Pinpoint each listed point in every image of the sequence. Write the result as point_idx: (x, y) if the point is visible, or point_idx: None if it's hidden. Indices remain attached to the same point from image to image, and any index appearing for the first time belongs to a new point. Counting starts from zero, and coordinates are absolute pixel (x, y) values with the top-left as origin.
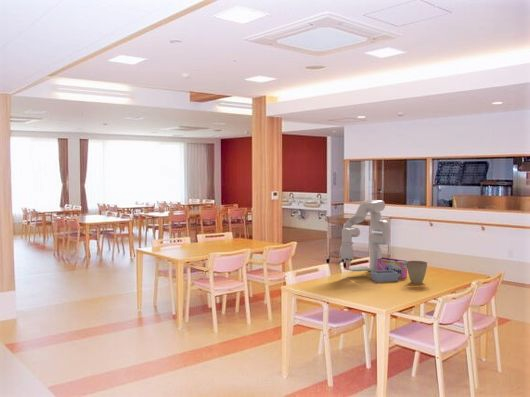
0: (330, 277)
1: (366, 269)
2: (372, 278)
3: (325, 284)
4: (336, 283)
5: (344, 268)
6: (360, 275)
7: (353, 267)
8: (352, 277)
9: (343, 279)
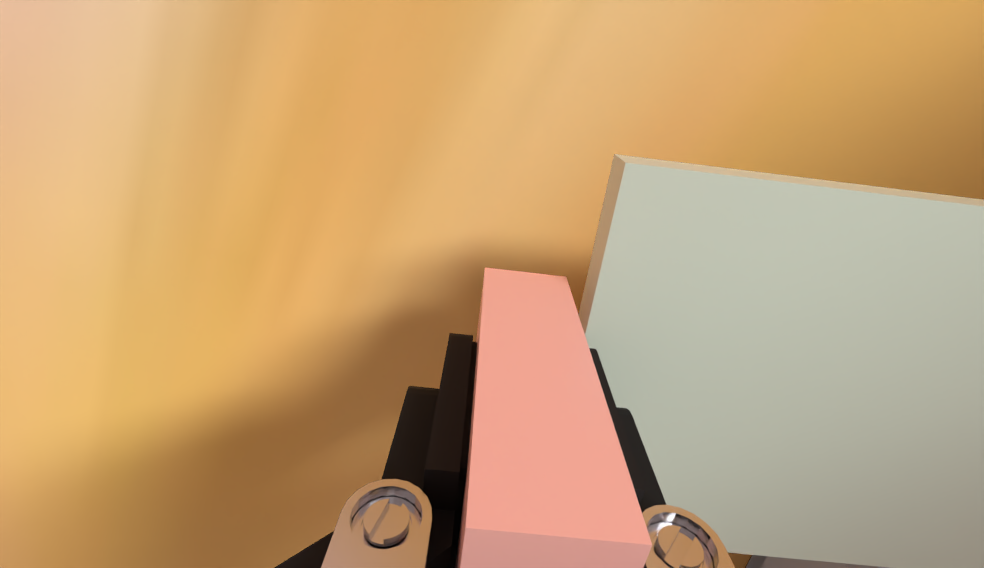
0: (212, 79)
1: (939, 562)
2: (786, 562)
3: (48, 500)
4: (212, 499)
5: (479, 320)
6: (978, 109)
7: (828, 322)
8: None
9: (411, 329)
